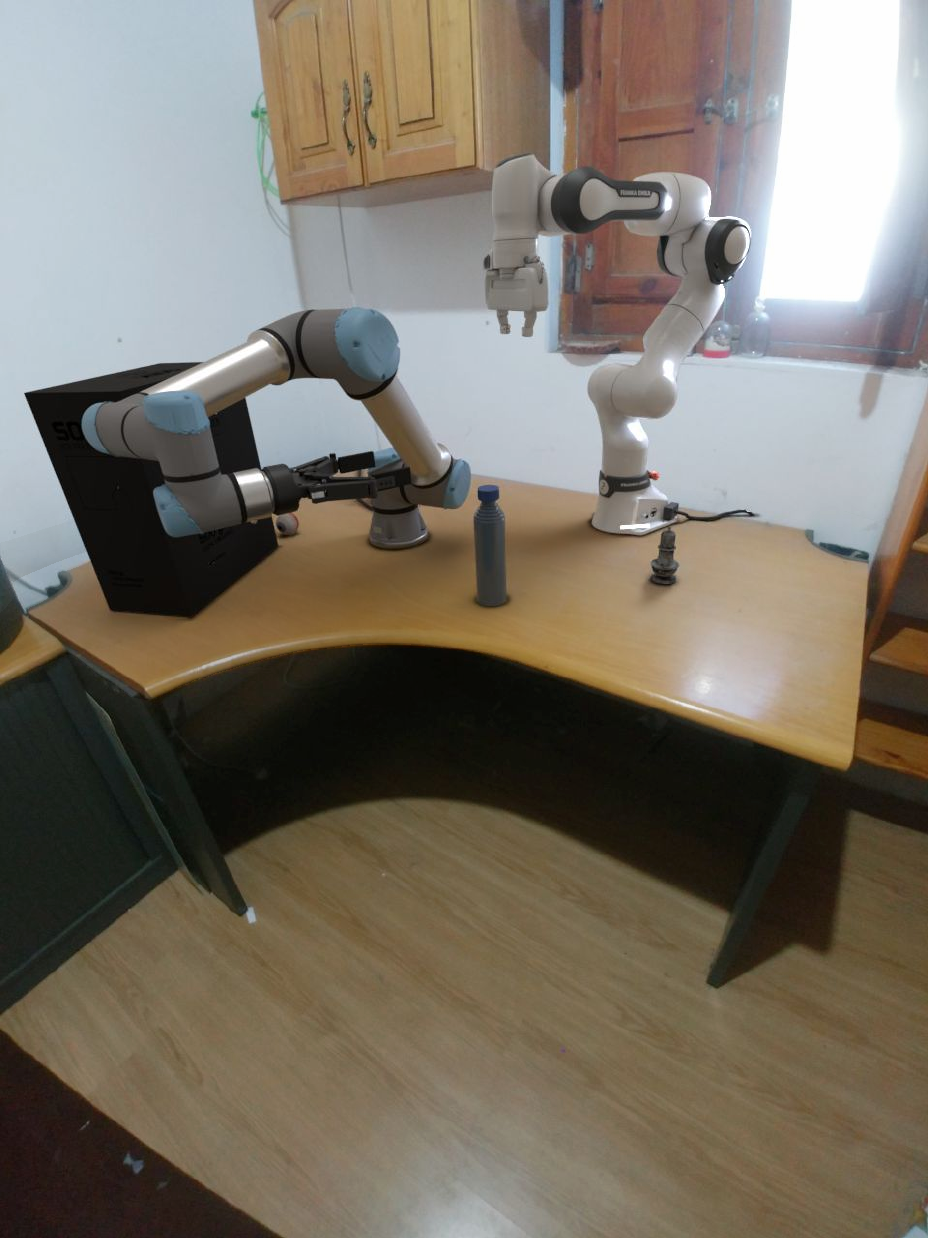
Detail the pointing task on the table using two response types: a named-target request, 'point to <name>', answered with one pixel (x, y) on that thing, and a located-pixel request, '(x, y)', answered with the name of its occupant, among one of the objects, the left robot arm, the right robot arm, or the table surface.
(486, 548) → the bottle
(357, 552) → the table surface
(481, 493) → the cap
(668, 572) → the grey tapered ringed piece
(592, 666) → the table surface
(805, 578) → the table surface
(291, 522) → the eyeball
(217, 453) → the cardboard box
